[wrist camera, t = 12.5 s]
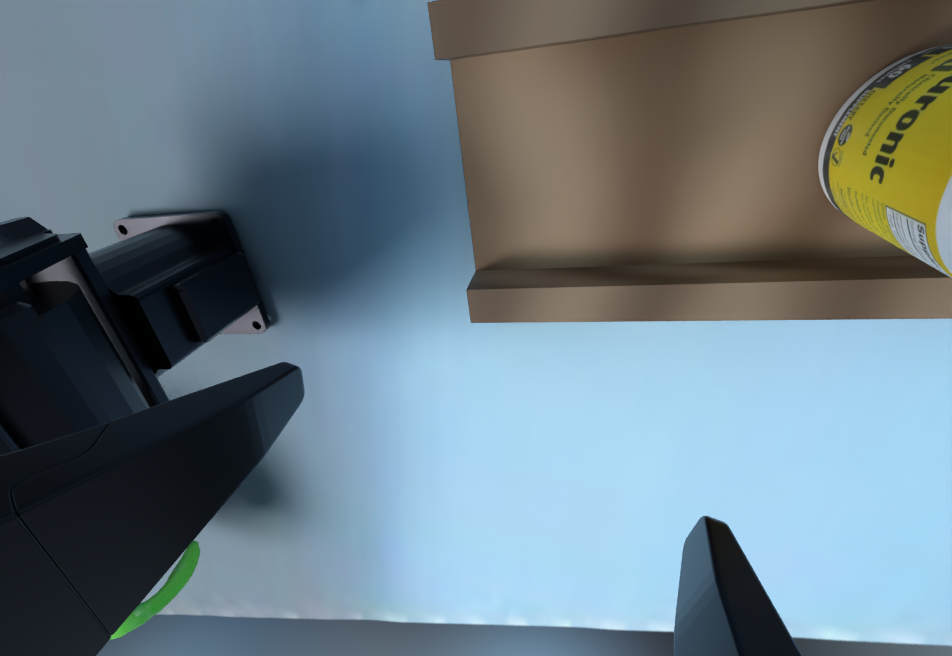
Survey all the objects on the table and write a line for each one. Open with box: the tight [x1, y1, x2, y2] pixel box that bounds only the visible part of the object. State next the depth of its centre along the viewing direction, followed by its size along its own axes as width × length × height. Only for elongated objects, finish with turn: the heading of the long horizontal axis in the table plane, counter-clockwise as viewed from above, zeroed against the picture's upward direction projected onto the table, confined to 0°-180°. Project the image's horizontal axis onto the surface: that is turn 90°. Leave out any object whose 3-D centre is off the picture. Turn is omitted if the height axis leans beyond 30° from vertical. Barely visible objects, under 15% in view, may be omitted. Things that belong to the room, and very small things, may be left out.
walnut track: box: [428, 0, 952, 323], centre depth 15 cm, size 26×13×3 cm, turn 97°
